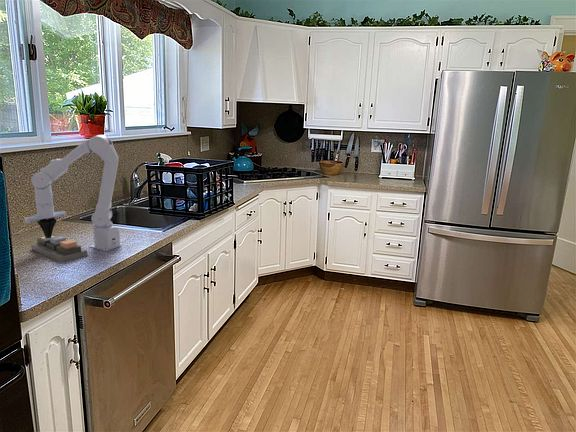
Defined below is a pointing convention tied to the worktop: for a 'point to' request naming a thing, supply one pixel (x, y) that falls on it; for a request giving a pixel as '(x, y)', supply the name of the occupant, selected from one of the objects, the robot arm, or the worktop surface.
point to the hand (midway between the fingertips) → (48, 237)
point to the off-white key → (45, 238)
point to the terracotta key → (68, 244)
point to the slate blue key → (57, 240)
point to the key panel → (58, 251)
